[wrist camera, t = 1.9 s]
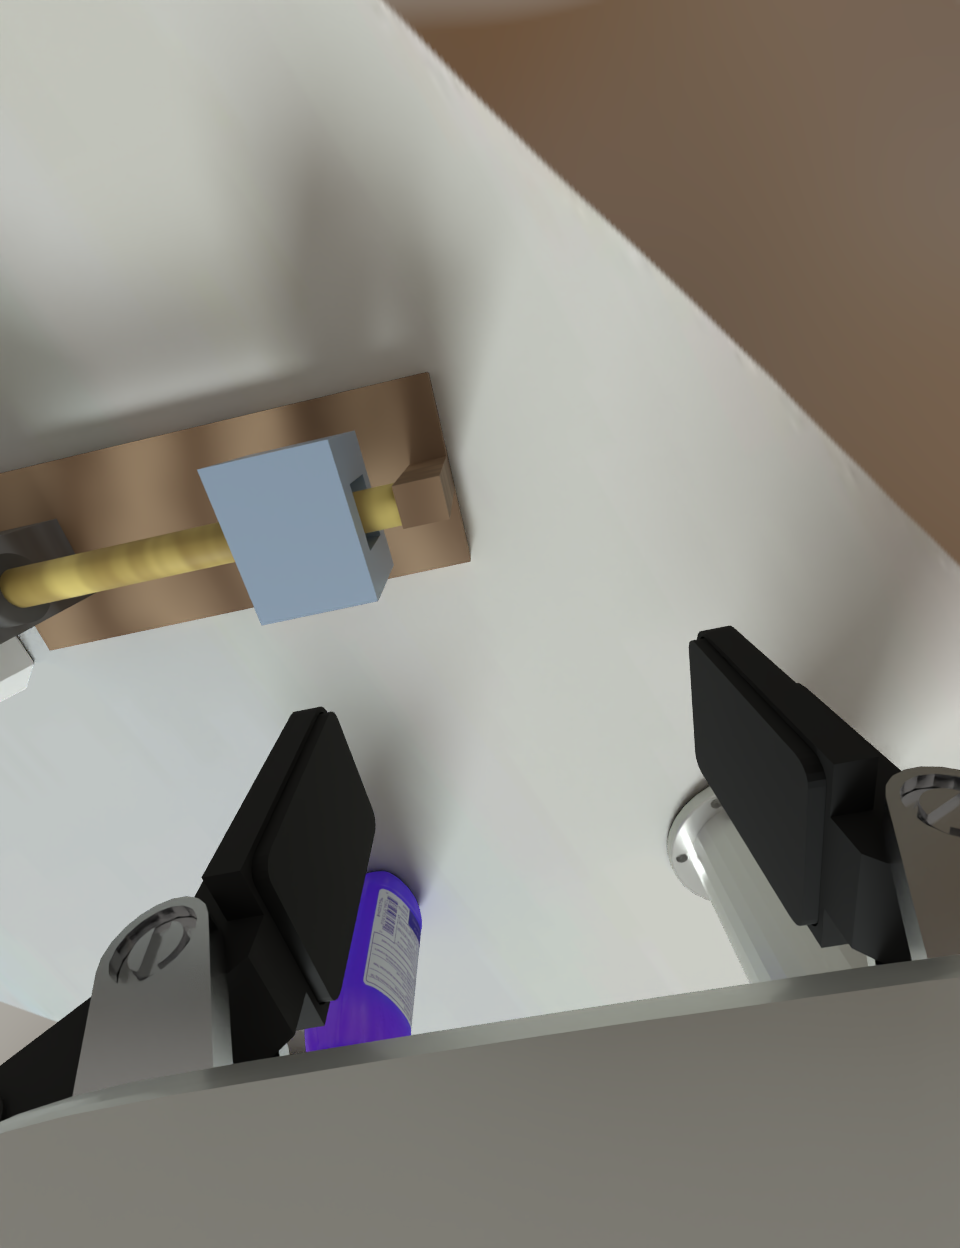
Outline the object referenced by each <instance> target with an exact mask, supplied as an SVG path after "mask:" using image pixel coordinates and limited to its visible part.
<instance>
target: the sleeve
mask: <svg viewBox="0 0 960 1248" xmlns="http://www.w3.org/2000/svg"><path fill="white" fill-rule="evenodd" d="M197 471H198V473H199V476H200V478H201V481H202V483H203V485H204V488H205V490H206V493H207V495H208V497H209V500H210V502H211V505H212V507H213V509H214V512H215V514H216V517H217V519H218V521H219V524H220V526H221V529H222V531H223V534H224V536H225V538H226V541H227V543H228V546H229V548H230V550H231V553H232V555H233V558H234V560H235V562H236V565H237V567H238V570H239V572H240V574H241V577H242V579H243V582H244V584H245V587H246V589H247V591H248V594H249V596H250V599H251V601H252V603H253V606H254V608H255V611H256V613H257V615H258V618H259V620H260V623H261V625H266V624H271V623H276V622H281V621H285V620H290V619H295V618H300V617H304V616H309V615H314V614H319V613H324V612H328V611H333V610H338V609H343V608H347V607H352V606H357V605H362V604H367V603H371V602H376V601H378V600H379V598H380V595H381V593H382V591H383V588H384V586H385V584H386V582H387V579H388V577H389V575H390V572H391V570H392V568H393V566H394V564H393V560H392V557H391V553H390V550H389V546H388V543H387V539H386V536H385V533H384V530H379V531H374V532H370V533H364V529H363V526H362V523H361V520H360V516H359V513H358V510H357V507H356V503H355V500H354V497H353V493H352V492H355V491H360V490H364V489H369V488H371V484H370V481H369V478H368V474H367V471H366V467H365V464H364V460H363V457H362V453H361V450H360V447H359V443H358V440H357V436H356V433H355V430H354V431H350V432H346V433H342V434H337V435H333V436H329V437H324V438H320V439H316V440H311V441H307V442H303V443H298V444H294V445H290V446H286V447H281V448H277V449H273V450H268V451H264V452H260V453H255V454H251V455H247V456H244V457H240V458H237V459H233V460H229V461H226V462H222V463H219V464H215V465H212V466H208V467H205V468H201V469H198V470H197Z"/></svg>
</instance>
